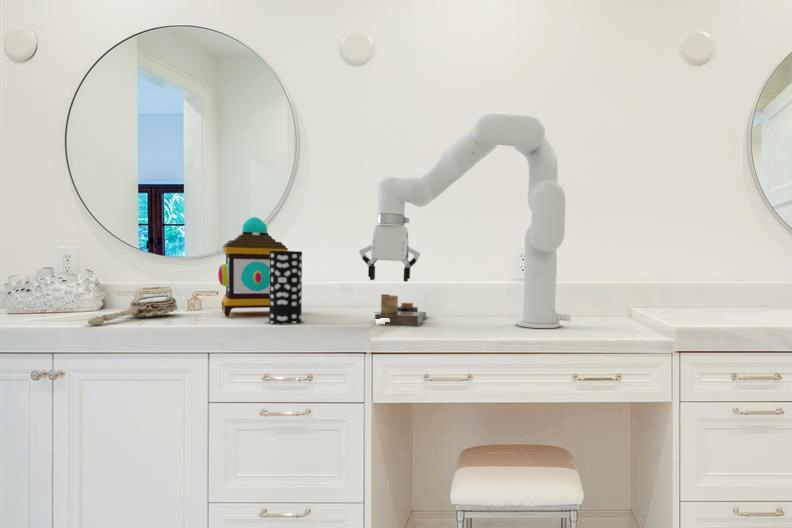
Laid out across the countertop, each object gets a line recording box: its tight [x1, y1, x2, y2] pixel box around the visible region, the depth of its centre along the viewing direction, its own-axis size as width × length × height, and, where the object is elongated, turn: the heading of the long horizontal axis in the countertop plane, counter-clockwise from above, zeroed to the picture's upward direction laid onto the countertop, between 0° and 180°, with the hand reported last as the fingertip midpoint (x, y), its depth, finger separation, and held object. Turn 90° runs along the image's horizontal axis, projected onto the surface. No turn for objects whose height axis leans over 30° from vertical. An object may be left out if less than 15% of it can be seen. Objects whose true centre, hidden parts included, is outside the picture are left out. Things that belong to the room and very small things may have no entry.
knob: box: [380, 293, 399, 314], centre depth 160 cm, size 5×5×5 cm
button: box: [400, 302, 414, 308], centre depth 173 cm, size 4×4×2 cm
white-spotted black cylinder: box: [268, 250, 303, 325], centre depth 154 cm, size 8×8×20 cm
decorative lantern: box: [217, 216, 289, 318], centre depth 170 cm, size 20×20×30 cm
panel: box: [373, 311, 424, 327], centre depth 160 cm, size 14×10×3 cm
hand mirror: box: [87, 294, 179, 326], centre depth 150 cm, size 11×6×30 cm
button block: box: [398, 305, 427, 321], centre depth 173 cm, size 11×9×4 cm
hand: (389, 280), depth 159 cm, fingers open, 9 cm apart
